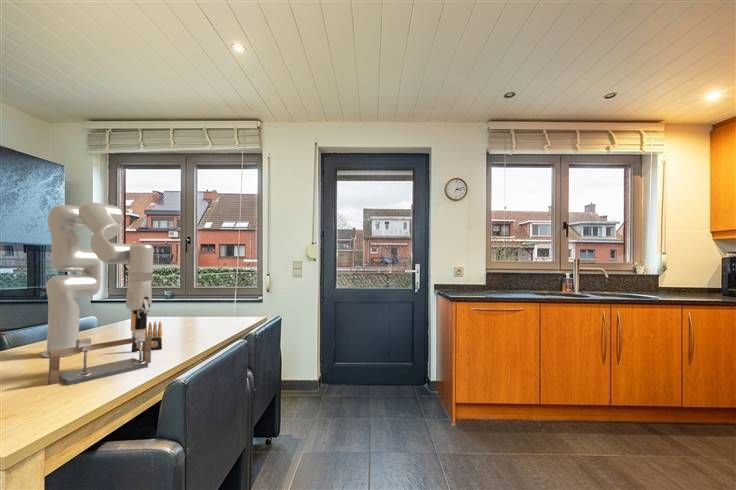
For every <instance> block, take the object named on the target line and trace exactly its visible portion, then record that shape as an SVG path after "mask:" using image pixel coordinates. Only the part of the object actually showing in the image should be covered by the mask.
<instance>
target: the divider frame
mask: <svg viewBox="0 0 736 490" xmlns="http://www.w3.org/2000/svg"><path fill="white" fill-rule="evenodd" d="M151 340H152V336H151V335H148V334H147V336H145V341H143V351H142V361H146V362H145V363H148V364H150V363H151V361H152V351H151ZM132 343H135V338H132V337H130V338H125V339H118V340H112V341H105V342H100V343H99V342H98V343H92V338H90V337H83V338H78V339H76V347H74V348H67V349H61V350H55V351H49V357H48V358H49V360H48V361H49V363H48V385H55V384H59V383H60V382H59V381H60V380H59V373H60V367H61V366H60V365H61V361H60V360H61V357H62V356H61V355H67V354H73V353H77V354H80V353H83V367H82V368H83V372H86V371H87V367H88V352H89V351H90V352H91V351H96V350H101V349H107V348H113V347H119V346H123V345H124V346H125V345H132ZM79 352H80V353H79ZM73 355H74V354H73ZM60 356H61V357H60Z"/></svg>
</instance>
